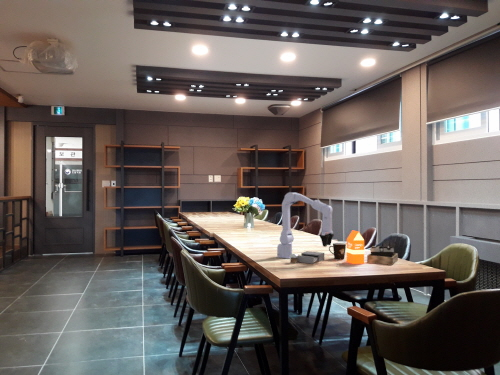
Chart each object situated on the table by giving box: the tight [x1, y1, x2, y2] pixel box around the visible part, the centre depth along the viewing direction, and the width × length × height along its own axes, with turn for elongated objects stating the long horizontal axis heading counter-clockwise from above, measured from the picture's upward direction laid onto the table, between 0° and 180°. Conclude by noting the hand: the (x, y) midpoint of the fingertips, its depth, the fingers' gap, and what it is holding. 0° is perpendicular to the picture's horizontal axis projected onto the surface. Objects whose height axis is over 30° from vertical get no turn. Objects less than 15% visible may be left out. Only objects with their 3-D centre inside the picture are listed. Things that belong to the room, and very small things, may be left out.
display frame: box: [366, 252, 399, 266], centre depth 244 cm, size 15×19×4 cm
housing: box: [300, 250, 325, 263], centre depth 247 cm, size 12×10×4 cm
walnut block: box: [289, 258, 298, 264], centre depth 235 cm, size 3×3×4 cm
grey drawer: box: [297, 254, 318, 264], centre depth 239 cm, size 11×10×4 cm
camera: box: [370, 245, 395, 257], centre depth 245 cm, size 15×11×10 cm
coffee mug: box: [328, 242, 347, 261], centre depth 252 cm, size 12×9×10 cm
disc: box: [290, 253, 299, 259], centre depth 235 cm, size 6×6×2 cm
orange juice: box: [346, 229, 365, 265], centre depth 239 cm, size 8×9×20 cm
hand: (326, 245), depth 240 cm, fingers open, 7 cm apart
